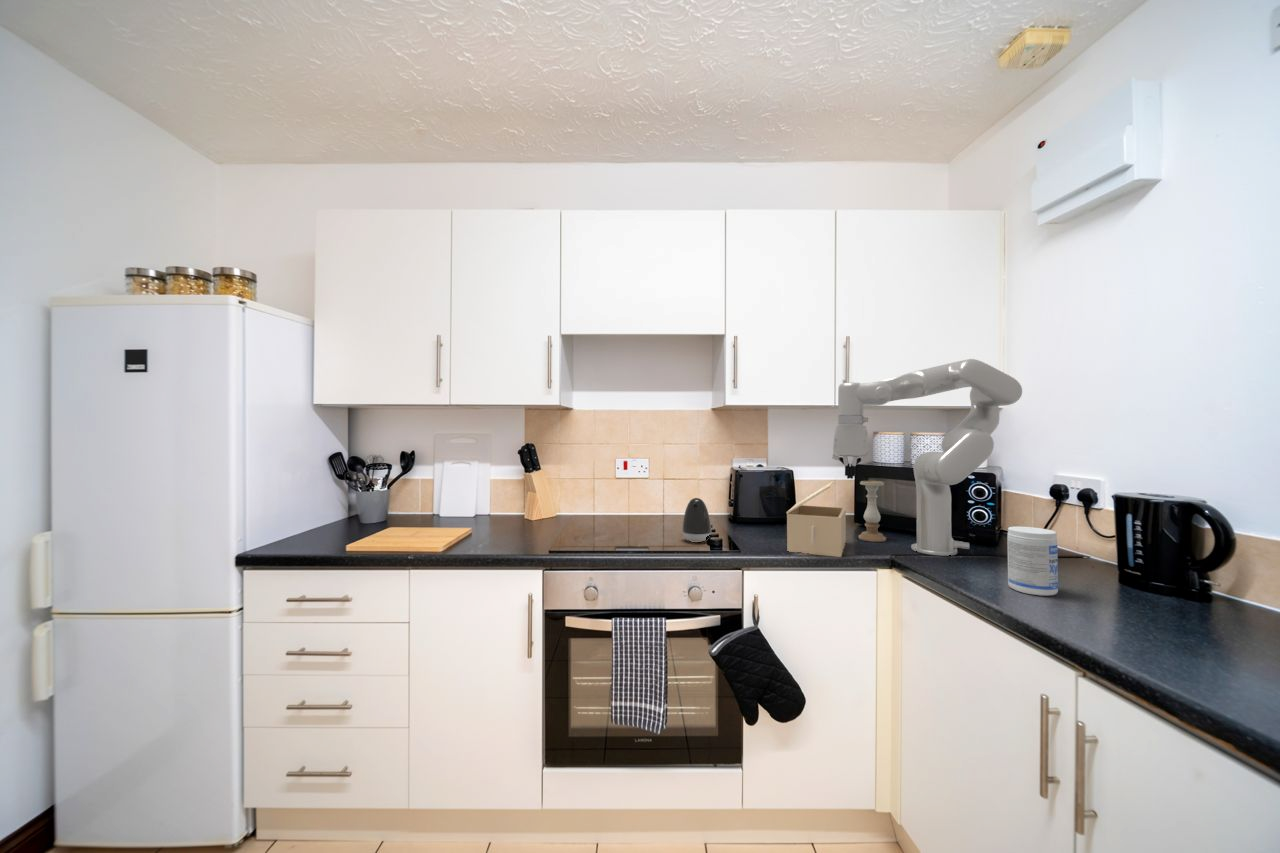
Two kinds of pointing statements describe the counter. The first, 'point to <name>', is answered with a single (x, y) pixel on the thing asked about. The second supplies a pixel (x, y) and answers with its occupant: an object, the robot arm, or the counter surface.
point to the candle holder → (872, 514)
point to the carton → (817, 530)
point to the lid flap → (811, 496)
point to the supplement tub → (1033, 560)
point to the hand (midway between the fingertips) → (850, 478)
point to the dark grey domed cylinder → (696, 521)
